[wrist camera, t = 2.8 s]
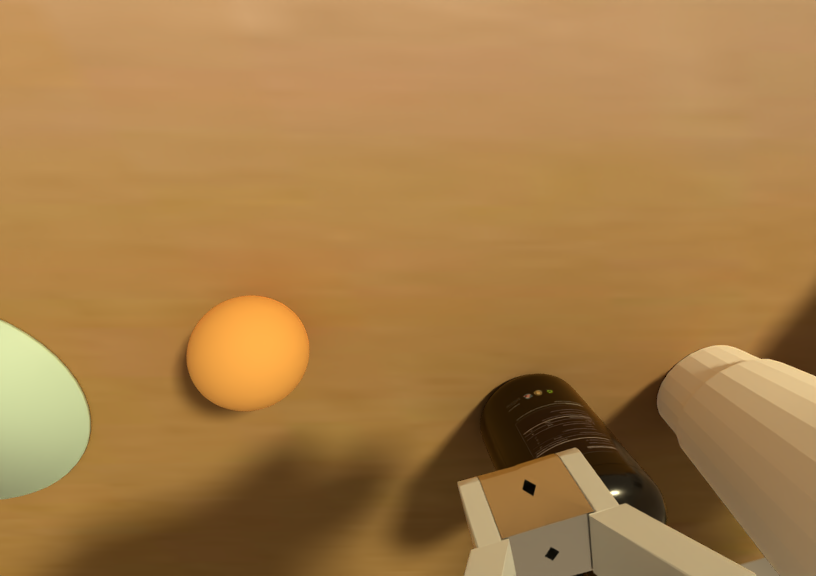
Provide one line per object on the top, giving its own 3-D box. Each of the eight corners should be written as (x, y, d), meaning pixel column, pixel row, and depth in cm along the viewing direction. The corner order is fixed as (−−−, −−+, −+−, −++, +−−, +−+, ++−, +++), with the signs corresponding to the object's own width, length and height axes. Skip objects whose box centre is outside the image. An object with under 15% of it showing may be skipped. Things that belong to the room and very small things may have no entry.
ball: (247, 258, 20) (213, 302, 15) (334, 318, 22) (328, 375, 17) (189, 333, 22) (138, 398, 17) (276, 384, 23) (254, 456, 18)
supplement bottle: (577, 438, 28) (722, 640, 17) (484, 462, 28) (569, 682, 17) (574, 357, 25) (743, 535, 14) (470, 382, 25) (561, 584, 14)
